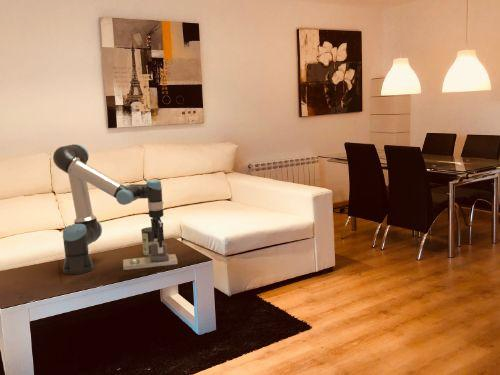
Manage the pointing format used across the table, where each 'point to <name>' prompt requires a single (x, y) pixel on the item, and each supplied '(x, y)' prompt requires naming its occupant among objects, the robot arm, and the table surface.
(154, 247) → the wing knob
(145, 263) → the base plate
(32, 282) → the table surface
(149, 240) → the coffee can
